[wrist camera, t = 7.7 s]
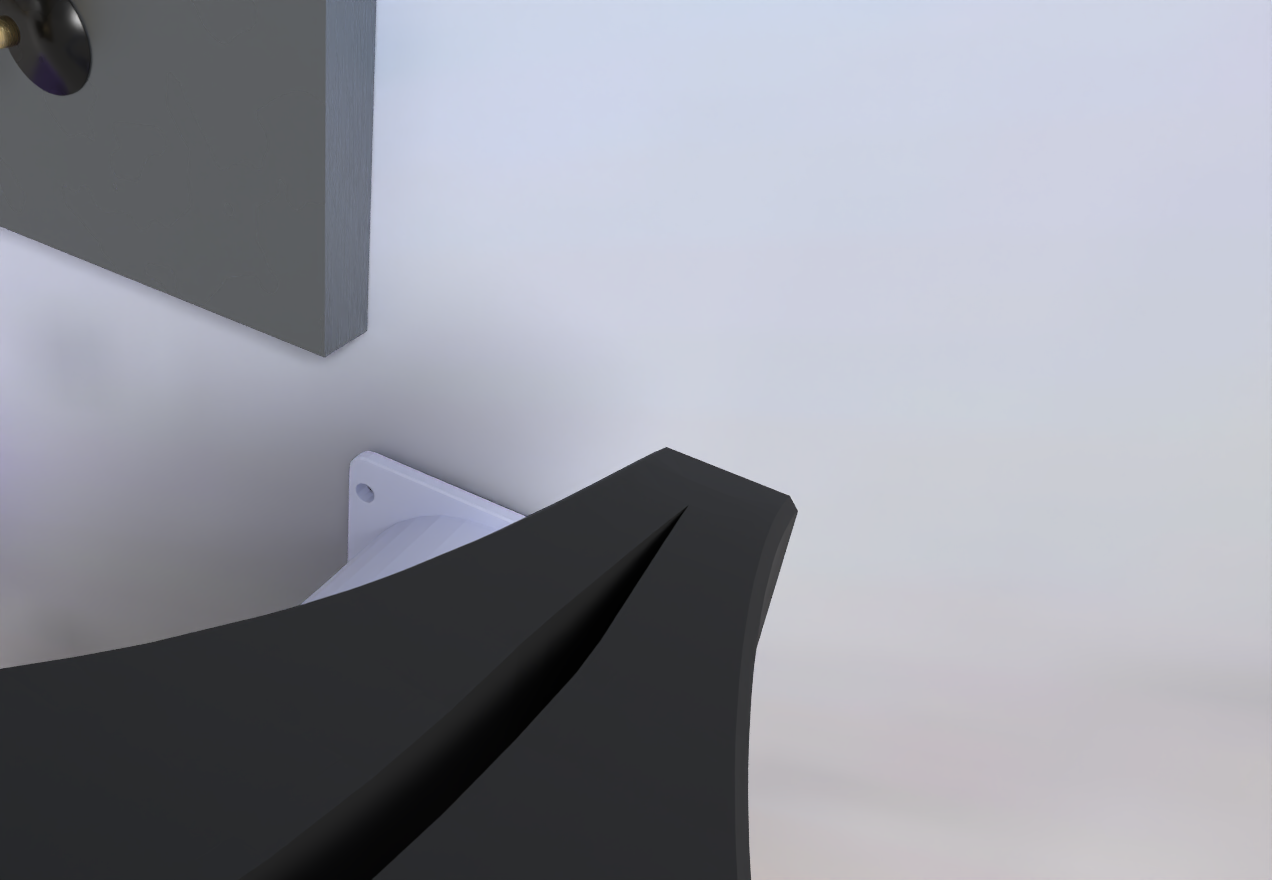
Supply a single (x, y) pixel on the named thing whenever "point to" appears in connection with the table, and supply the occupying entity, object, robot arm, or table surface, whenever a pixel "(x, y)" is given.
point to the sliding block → (8, 32)
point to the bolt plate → (200, 151)
